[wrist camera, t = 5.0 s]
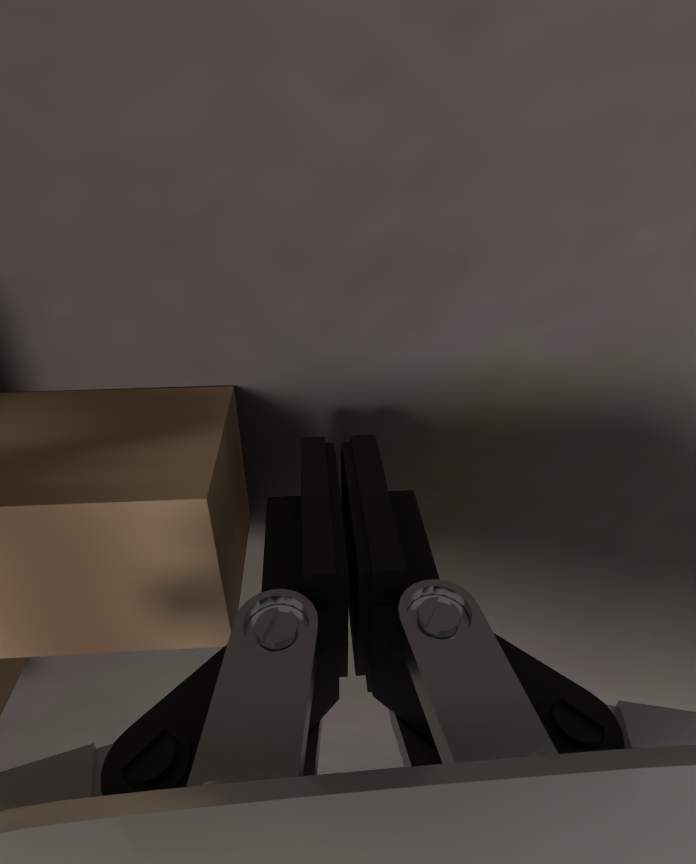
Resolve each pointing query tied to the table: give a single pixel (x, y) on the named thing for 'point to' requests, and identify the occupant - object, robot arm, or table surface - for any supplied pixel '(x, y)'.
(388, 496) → the robot arm
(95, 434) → the tee block
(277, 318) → the table surface
